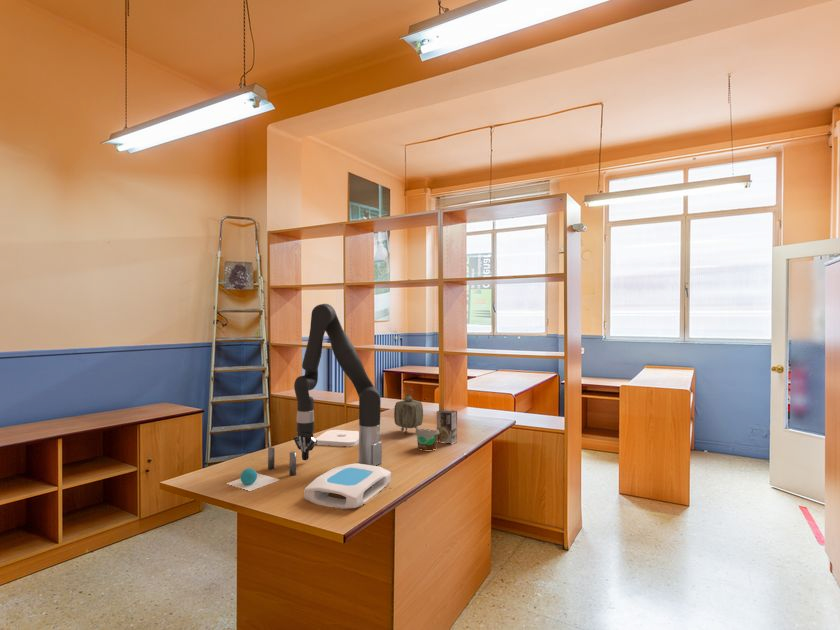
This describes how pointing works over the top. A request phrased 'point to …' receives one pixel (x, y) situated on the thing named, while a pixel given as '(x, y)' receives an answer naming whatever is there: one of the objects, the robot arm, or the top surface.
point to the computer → (338, 438)
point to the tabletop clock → (408, 412)
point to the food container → (427, 438)
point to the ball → (248, 476)
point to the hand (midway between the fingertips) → (305, 459)
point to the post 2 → (292, 464)
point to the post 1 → (271, 457)
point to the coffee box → (447, 425)
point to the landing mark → (259, 482)
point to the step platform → (347, 485)
